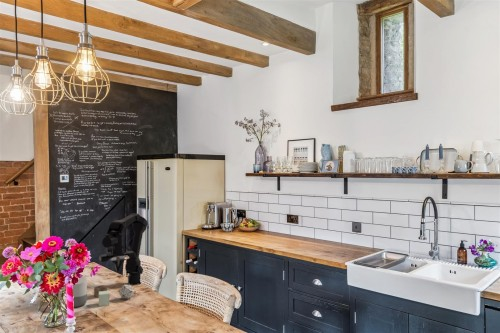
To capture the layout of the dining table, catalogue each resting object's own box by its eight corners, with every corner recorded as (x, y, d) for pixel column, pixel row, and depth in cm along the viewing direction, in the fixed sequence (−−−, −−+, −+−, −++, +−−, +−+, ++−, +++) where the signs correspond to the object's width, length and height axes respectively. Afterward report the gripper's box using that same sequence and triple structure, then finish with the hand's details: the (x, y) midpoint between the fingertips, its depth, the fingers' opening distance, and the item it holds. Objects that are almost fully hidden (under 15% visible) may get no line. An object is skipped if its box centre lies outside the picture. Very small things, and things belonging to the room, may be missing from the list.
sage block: (108, 302, 202) (109, 290, 202) (109, 305, 197) (109, 293, 197) (98, 303, 200) (98, 291, 200) (98, 306, 195) (98, 294, 195)
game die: (129, 304, 208) (141, 288, 211) (123, 304, 200) (135, 287, 203) (117, 295, 211) (129, 279, 213) (111, 294, 203) (123, 278, 205)
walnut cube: (102, 293, 214) (102, 284, 214) (107, 296, 211) (107, 286, 211) (94, 296, 211) (94, 286, 211) (98, 298, 207) (98, 288, 207)
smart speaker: (63, 308, 192) (63, 280, 192) (71, 302, 201) (72, 275, 201) (82, 308, 192) (83, 280, 192) (90, 302, 201) (90, 275, 201)
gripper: (129, 239, 227) (129, 265, 227) (96, 243, 217) (96, 270, 217) (135, 242, 218) (135, 270, 218) (101, 246, 207) (101, 275, 208)
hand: (117, 271), depth 216 cm, fingers closed
